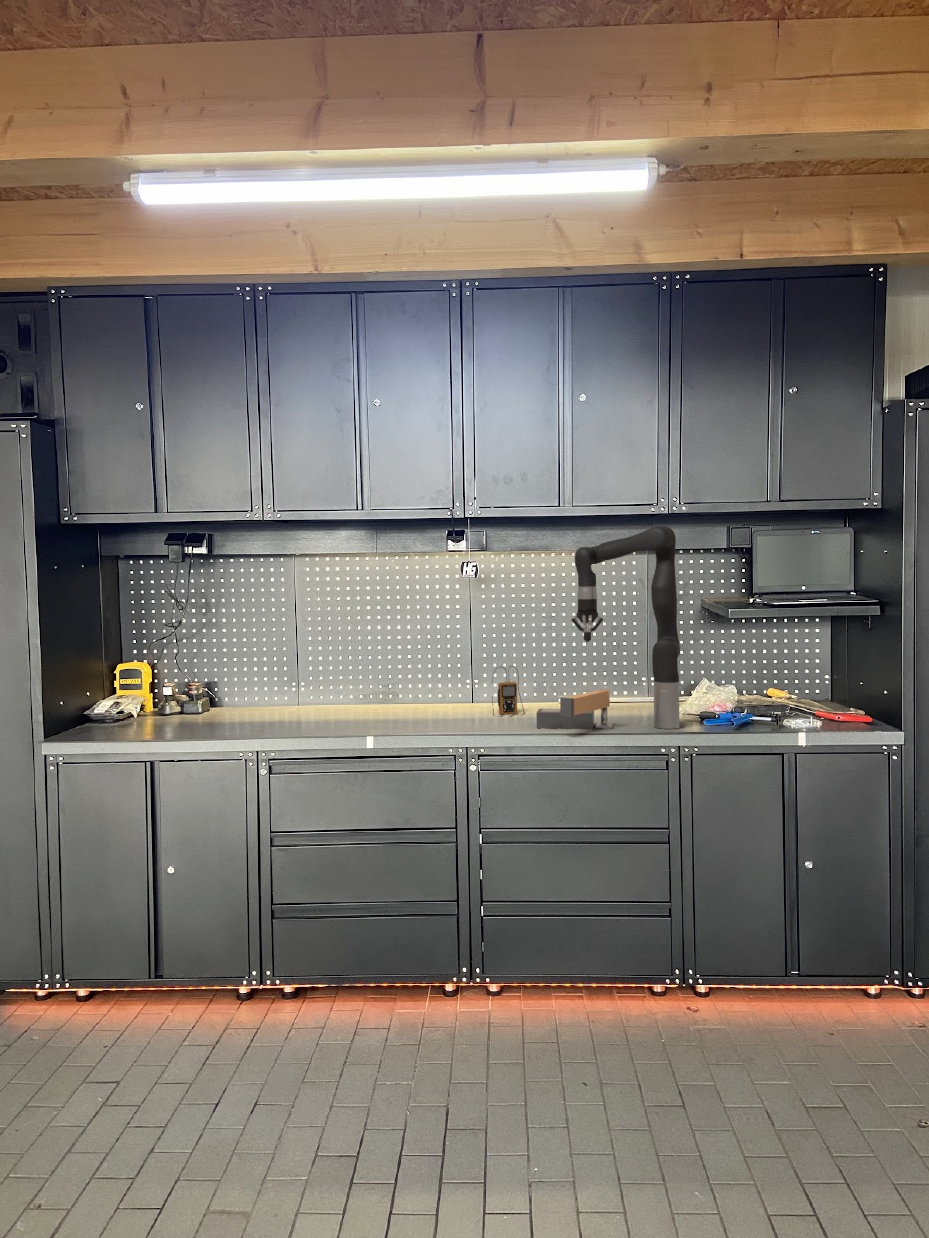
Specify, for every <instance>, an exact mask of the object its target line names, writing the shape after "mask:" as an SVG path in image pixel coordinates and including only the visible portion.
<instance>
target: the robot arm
mask: <svg viewBox="0 0 929 1238" xmlns="http://www.w3.org/2000/svg"><path fill="white" fill-rule="evenodd" d="M676 538H677V537H676V533H675V532H674V530H673V529H672V528H671V527H670V526H666V525H663V526H662V525H656V526H655V525H654V526H653V527H650V528H648V529H646V530H644V531H642V532H639V533H636V534H633V535H631V536H628V537H624V538H622V537H621V538H617V539H615V540H610V541H605V542H601V543H600V544H598V545H595V546H581V547H579V548H577V549H576V551H575V554H574V564H575V569H576V573H577V577H578V579H577V581H578V582H577V584H578V585H577V586H578V587H577V612H576V616H574V617H572V618H571V622H572V623H573V624H574V626H575V627H576V628H577V629H578V631H580V632H583V641H585V643H590V641H591V640H592V633H593V632H595V631H596V630H597V629H598V628H599V626H600V625H601V624H602V622H603V621H604V618H603V617H601V616H600V615H599V613H598V591H597V575H596V572H594V571H593V569H592V565H593V566H594V565H596V564H599V563H602V562H605V561H612V560H614V559H615V560H616V559H620V558H623V557H626V556H627V555H631V554H633V553H636V552H637V553H638V552H643V551H645V552H646V551H654V552H655V569H654V573H653V577H652V581H651V589H650V591H651V593H650V594H651V605H652V606H651V607H652V611H653V615H654V618H655V622H656V628H657V629H656V630H657V631H656V632H657V635H656V636H657V637H656V638H657V639H656V642H655V644H654V645H653V647H652V654H651V657H652V658H651V659H652V660H651V661H652V662H651V663H652V675H653V727H654V728H656V729H664V730H665V729H666V730H667V729H669V730H670V729H671V730H673V729H680V675H679V671H678V669H679V668H678V666H679V665H678V659H679V656H680V653H681V646H680V640H679V635H678V634H679V633H678V622H677V619H678V596H677V595H678V593H677V581H676V566H675V565H676V564H675V561H676V560H675V559H676V541H677V540H676ZM579 621H580V623H581V624H582V626H581V625H580V623H579ZM595 621H596V624H595V625H594V626H593V624H594V623H595ZM592 626H593V627H592Z"/></svg>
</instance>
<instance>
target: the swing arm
mask: <svg viewBox="0 0 929 1238" xmlns="http://www.w3.org/2000/svg"><path fill="white" fill-rule="evenodd" d="M610 698H611V697H610V690H609V689H597V690H594V691H589V692H585V693H581V694H575V695H571V696H566V697H564V696H563V697H560V699H559V700H560V702H559V704H560V707H559V709H560V716H566V717H573V716H574V715H578V714H582V713H586V712H590V711H594V712H595V711H597V710H601V709H602V708H606V707H607V708H609V707H610V706H611V705H610V701H611V700H610Z"/></svg>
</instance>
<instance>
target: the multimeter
mask: <svg viewBox="0 0 929 1238" xmlns="http://www.w3.org/2000/svg"><path fill="white" fill-rule="evenodd" d="M510 667H513V668H515V666H513V665H509V667H508V669H510ZM499 668H500V666H497V667H496V668H495V670H494V671H493V675H492V679H491V683H493V682H494V675H495V673H496V670H497V669H499ZM501 668H503V669H504V670H505V682H499V683H498V689H497V704H498V705H497V706H498V715H499V716H498V717H504V715H509V717H510V716H511V717H513V716H515V715H517V714H518V695H519V700H520V703H521V707H522V710H523V715H525V714H526V712H525V708H524V706H523V702H522V698H521V693H520V686H519V684H520V683H519V682H520V681H519V680H520V679H519V678H520V677H519V676H520V675H519V670H518V669H517V668H515V669H516V673H517V682H515V681H511V679H510V675H508V674H507V673H508V672H507V669H506V668H505V667H503V666H501ZM491 703H492V705H494V701H493V697H491ZM494 711H495V710H494V709H492V713H493V714H492V715H495V713H494ZM502 714H504V715H502Z"/></svg>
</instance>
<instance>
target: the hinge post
mask: <svg viewBox="0 0 929 1238" xmlns="http://www.w3.org/2000/svg"><path fill="white" fill-rule="evenodd" d="M612 726H613V727H614V725H613V723H608V707H606V708H602V709H600V722H596V724H595V729H596V728H606V729H607V730H612V729H613V727H612Z"/></svg>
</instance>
